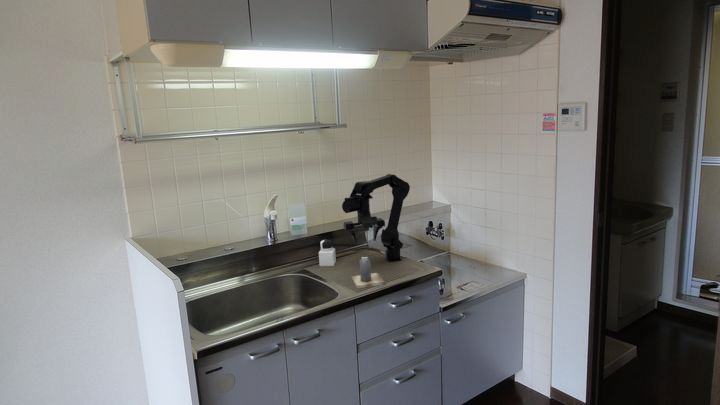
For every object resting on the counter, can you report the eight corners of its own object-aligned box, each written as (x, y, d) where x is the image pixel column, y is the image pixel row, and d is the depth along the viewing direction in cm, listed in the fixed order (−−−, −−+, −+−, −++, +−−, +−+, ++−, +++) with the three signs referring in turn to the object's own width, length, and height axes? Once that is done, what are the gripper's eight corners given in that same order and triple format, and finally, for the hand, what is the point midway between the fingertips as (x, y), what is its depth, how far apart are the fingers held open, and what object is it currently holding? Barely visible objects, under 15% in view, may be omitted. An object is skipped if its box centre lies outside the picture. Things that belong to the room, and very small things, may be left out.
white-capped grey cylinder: (363, 277, 205) (362, 255, 203) (372, 278, 203) (371, 256, 201) (358, 281, 201) (357, 258, 199) (368, 282, 199) (367, 259, 197)
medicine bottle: (336, 261, 233) (334, 238, 231) (333, 266, 227) (332, 242, 224) (322, 261, 234) (320, 238, 232) (319, 266, 227) (317, 242, 225)
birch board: (377, 275, 211) (376, 272, 210) (384, 284, 199) (384, 281, 199) (351, 279, 208) (351, 276, 208) (357, 288, 196) (357, 285, 196)
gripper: (347, 214, 205) (349, 248, 208) (388, 210, 210) (389, 244, 213) (342, 210, 216) (344, 242, 219) (380, 206, 220) (382, 238, 223)
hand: (365, 241), depth 218 cm, fingers open, 9 cm apart
